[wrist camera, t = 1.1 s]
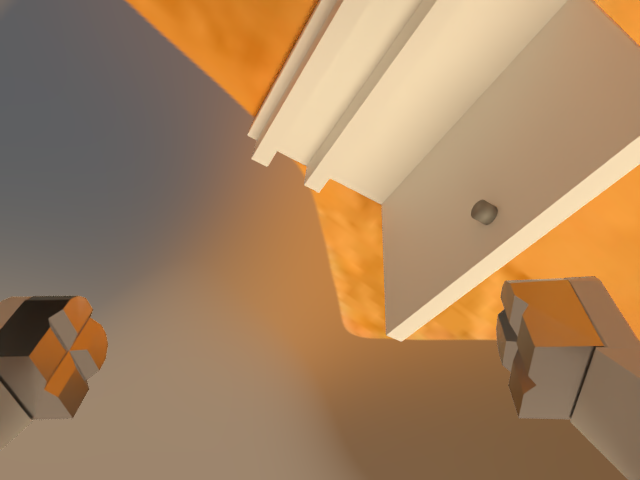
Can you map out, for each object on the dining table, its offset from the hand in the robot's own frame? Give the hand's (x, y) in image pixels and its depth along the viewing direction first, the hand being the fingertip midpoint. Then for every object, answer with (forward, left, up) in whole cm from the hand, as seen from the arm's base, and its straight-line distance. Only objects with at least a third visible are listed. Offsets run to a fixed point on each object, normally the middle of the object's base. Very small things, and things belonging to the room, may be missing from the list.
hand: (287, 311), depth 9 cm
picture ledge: (+6, +9, -34) cm, 35 cm away
